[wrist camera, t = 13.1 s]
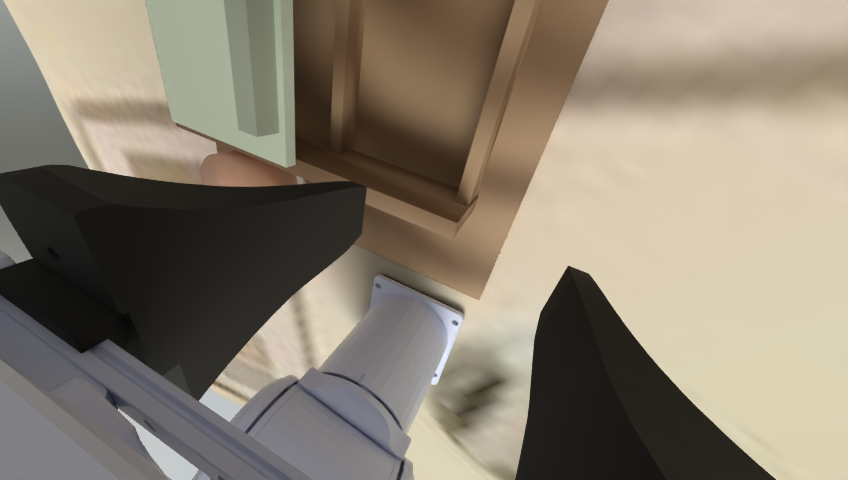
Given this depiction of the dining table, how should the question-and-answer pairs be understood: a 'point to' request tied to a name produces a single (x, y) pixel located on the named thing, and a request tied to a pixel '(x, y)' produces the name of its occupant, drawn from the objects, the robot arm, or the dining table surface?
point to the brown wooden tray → (433, 117)
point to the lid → (230, 71)
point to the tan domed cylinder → (242, 171)
